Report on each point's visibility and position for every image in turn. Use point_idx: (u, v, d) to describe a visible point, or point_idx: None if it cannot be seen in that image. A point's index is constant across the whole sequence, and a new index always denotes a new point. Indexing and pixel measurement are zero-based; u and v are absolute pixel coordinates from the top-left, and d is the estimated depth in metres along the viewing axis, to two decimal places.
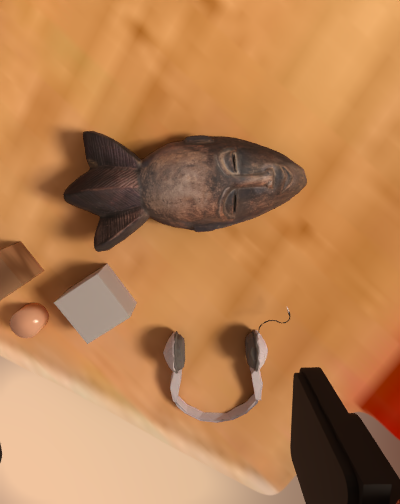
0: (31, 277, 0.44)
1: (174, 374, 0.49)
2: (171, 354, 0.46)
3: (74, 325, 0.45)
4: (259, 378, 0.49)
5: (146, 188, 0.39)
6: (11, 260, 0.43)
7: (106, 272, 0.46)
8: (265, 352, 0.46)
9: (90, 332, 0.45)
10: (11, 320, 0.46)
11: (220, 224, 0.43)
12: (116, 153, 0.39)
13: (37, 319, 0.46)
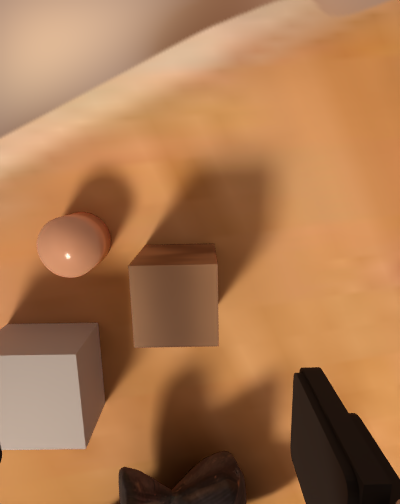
0: None
1: None
2: None
3: (13, 358, 0.22)
4: None
5: None
6: None
7: None
8: None
9: None
10: (88, 230, 0.22)
11: None
12: None
13: (64, 276, 0.23)
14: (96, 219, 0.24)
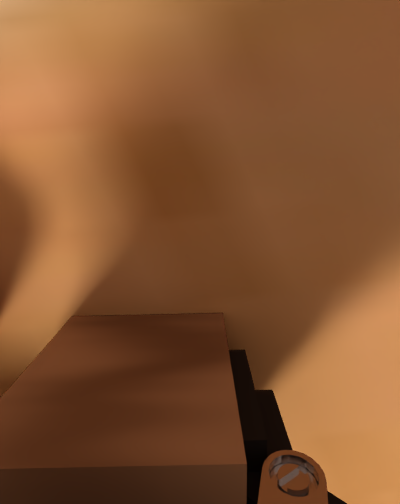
0: None
1: None
2: None
3: None
4: None
5: None
6: None
7: None
8: None
9: None
10: None
11: None
12: None
13: None
14: None
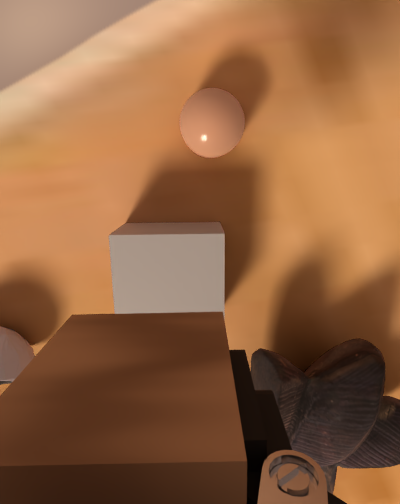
0: None
1: None
2: None
3: (159, 238, 0.21)
4: None
5: None
6: None
7: None
8: None
9: (128, 256, 0.21)
10: (236, 103, 0.21)
11: None
12: (377, 456, 0.24)
13: (205, 156, 0.21)
14: None
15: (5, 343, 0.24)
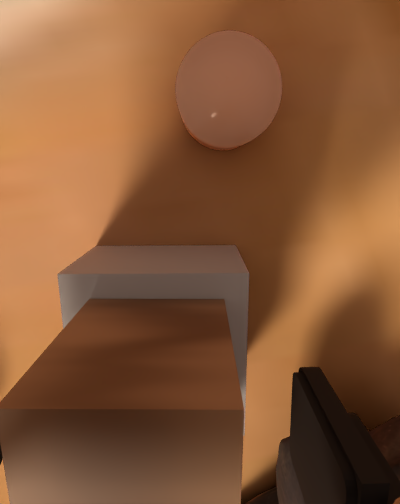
0: None
1: None
2: None
3: (141, 279, 0.13)
4: None
5: None
6: None
7: None
8: None
9: None
10: (268, 57, 0.13)
11: None
12: None
13: (217, 144, 0.13)
14: None
15: None
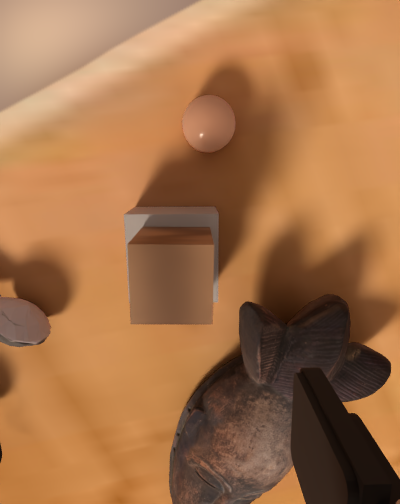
0: None
1: None
2: (17, 336, 0.28)
3: (165, 217, 0.25)
4: None
5: (288, 409, 0.28)
6: None
7: None
8: None
9: None
10: (228, 107, 0.25)
11: (188, 438, 0.32)
12: (346, 391, 0.29)
13: (203, 151, 0.26)
14: None
15: (28, 312, 0.29)
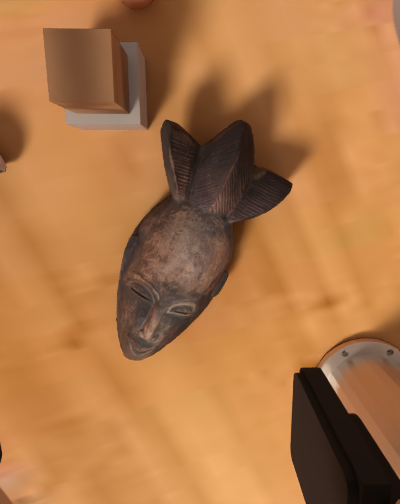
0: (64, 106, 0.29)
1: None
2: None
3: None
4: None
5: (203, 218, 0.34)
6: (97, 104, 0.28)
7: (137, 127, 0.35)
8: None
9: None
10: None
11: (126, 264, 0.38)
12: (253, 206, 0.34)
13: None
14: None
15: None
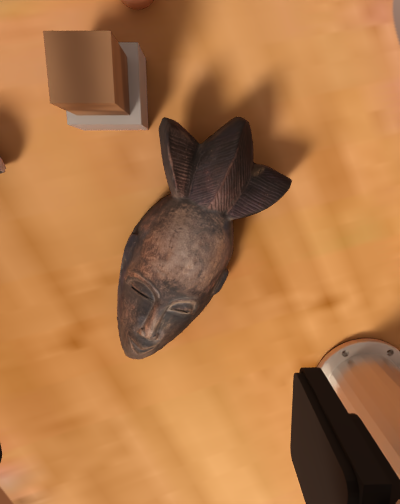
0: (64, 108, 0.29)
1: None
2: None
3: None
4: None
5: (202, 216, 0.34)
6: (98, 106, 0.28)
7: (137, 127, 0.35)
8: None
9: None
10: None
11: (126, 262, 0.37)
12: (253, 203, 0.34)
13: None
14: None
15: None
